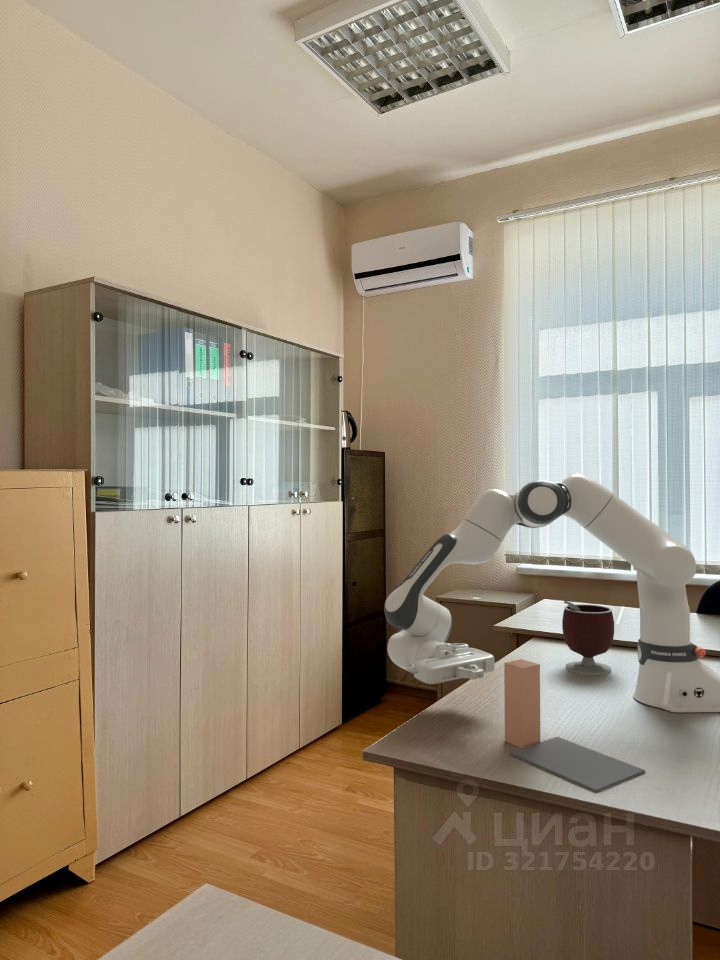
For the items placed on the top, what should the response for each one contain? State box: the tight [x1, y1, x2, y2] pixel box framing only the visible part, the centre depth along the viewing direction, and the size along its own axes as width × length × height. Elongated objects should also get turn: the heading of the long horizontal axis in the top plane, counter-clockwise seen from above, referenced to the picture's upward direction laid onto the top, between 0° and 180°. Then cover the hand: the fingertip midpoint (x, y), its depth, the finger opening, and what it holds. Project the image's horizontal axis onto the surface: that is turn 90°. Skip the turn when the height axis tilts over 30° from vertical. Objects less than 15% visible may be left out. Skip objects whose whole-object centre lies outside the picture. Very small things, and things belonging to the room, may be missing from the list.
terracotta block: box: [503, 658, 541, 749], centre depth 141 cm, size 5×5×16 cm
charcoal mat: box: [508, 736, 646, 793], centre depth 130 cm, size 20×14×1 cm
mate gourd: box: [561, 600, 615, 676], centre depth 194 cm, size 16×14×20 cm
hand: (479, 675), depth 151 cm, fingers closed
